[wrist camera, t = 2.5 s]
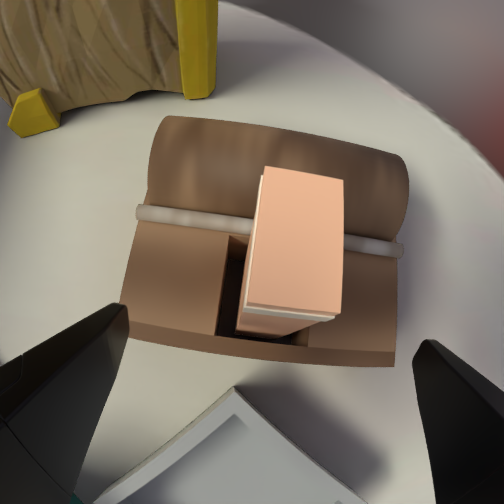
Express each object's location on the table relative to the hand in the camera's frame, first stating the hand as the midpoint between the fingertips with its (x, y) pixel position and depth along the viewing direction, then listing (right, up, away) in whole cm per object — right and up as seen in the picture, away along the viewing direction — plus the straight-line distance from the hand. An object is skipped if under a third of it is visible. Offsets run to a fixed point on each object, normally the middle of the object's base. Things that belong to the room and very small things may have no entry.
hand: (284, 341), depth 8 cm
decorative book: (-14, +19, +16) cm, 28 cm away
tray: (-2, -13, +6) cm, 14 cm away
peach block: (0, -1, +10) cm, 10 cm away
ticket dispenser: (0, +2, +11) cm, 11 cm away
